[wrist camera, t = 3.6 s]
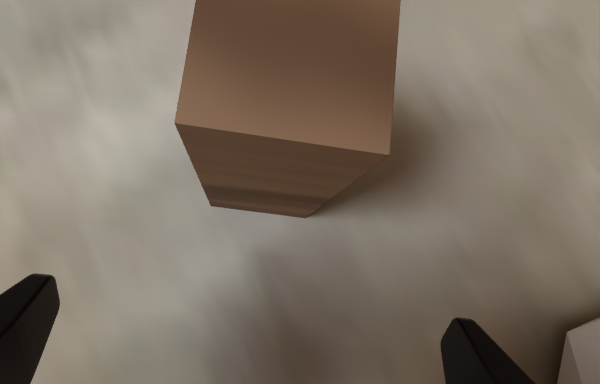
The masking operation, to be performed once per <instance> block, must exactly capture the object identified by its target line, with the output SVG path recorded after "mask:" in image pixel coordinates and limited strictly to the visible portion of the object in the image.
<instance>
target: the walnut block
mask: <svg viewBox="0 0 600 384" xmlns="http://www.w3.org/2000/svg"><path fill="white" fill-rule="evenodd" d="M400 1H401V0H196V3H195V9H194V15H193V20H192V26H191V32H190V37H189V43H188V49H187V55H186V60H185V66H184V72H183V78H182V83H181V89H180V95H179V101H178V106H177V112H176V118H175V125H176V127H177V130H178V132H179V134H180V137H181V139H182V141H183V143H184V146H185V148H186V150H187V153H188V155H189V157H190V159H191V162H192V164H193V166H194V169H195V171H196V173H197V175H198V178H199V180H200V182H201V184H202V187H203V189H204V191H205V194H206V196H207V198H208V200H209V203H210V205H211V206H215V207H223V208H231V209H238V210H246V211H254V212H262V213H270V214H278V215H285V216H293V217H301V218H306V217H307V216H308V215H310V214H311V213H312V212H314V211H315V210H317V209H318V208H319V207H321V206H322V205H323V204H325V203H326V202H327V201H329V200H330V199H331V198H333V197H334V196H335V195H337V194H338V193H339V192H341V191H342V190H343V189H345V188H346V187H347V186H349V185H350V184H351V183H353V182H354V181H355V180H357V179H358V178H359V177H361V176H362V175H364V174H365V173H366V172H368V171H369V170H370V169H372V168H373V167H374V166H376V165H377V164H378V163H380V162H381V161H382V160H384V159H385V158H386V157H388V156H389V155H390V141H391V127H392V113H393V99H394V85H395V71H396V57H397V43H398V29H399V15H400Z"/></svg>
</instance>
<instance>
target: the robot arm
mask: <svg viewBox="0 0 600 384" xmlns="http://www.w3.org/2000/svg"><path fill="white" fill-rule="evenodd" d="M59 306H60V299H59V294H58V290H57V285H56V280H55V278H54V277H53V276H52V275H46V274H31V275H29V276H27V277H26V278H24V279H23V280H21V281H20V282H18V283H17V284H15V285H14V286H12V287H11V288H9V289H8V290H6V291H5V292H3V293H2V294H0V384H30V383H31V381H32V378H33V376H34V374H35V371H36V369H37V366H38V363H39V361H40V358H41V356H42V353H43V350H44V348H45V345H46V342H47V340H48V337H49V335H50V332H51V329H52V327H53V324H54V321H55V319H56V316H57V314H58V311H59ZM441 354H442V361H443V367H444V374H445V381H446V384H535V383H534V382H533V381H532V380H531V379H530V378H529V377H528V376H527V375H526V374H525V372H524V371H523V370H522V369H521V368H520V367H519V366H518V365H517V364H516V363H515V362H514V361H513V360H512V359H511V358H510V357H509V356H508V355H507V354H506V353H505V352H504V351H503V350H502V349H501V348H500V347H499V346H498V345H497V344H496V343H495V342H494V341H493V340H492V339H491V338H490V337H489V336H488V335H487V334H486V333H485V331H484V330H483V329H482V328H481V327H480V326H479V325H478V324H477V323H476V322H475V321H473V320H472V319H467V318H454V319H453V320H452V322H451V323H450V325H449V327H448V328H447V330H446V332H445V333H444V335H443V337H442V339H441Z"/></svg>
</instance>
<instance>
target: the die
mask: <svg viewBox="0 0 600 384" xmlns="http://www.w3.org/2000/svg"><path fill="white" fill-rule="evenodd" d="M557 384H600V317H599V318H596V319H594V320H592V321H589V322H587V323H585V324H583V325H581V326H579V327H577V328H574V329H572V330H570V331H568V332H567V334H566V340H565V345H564V350H563V355H562V361H561V366H560V371H559V376H558V382H557Z"/></svg>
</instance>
